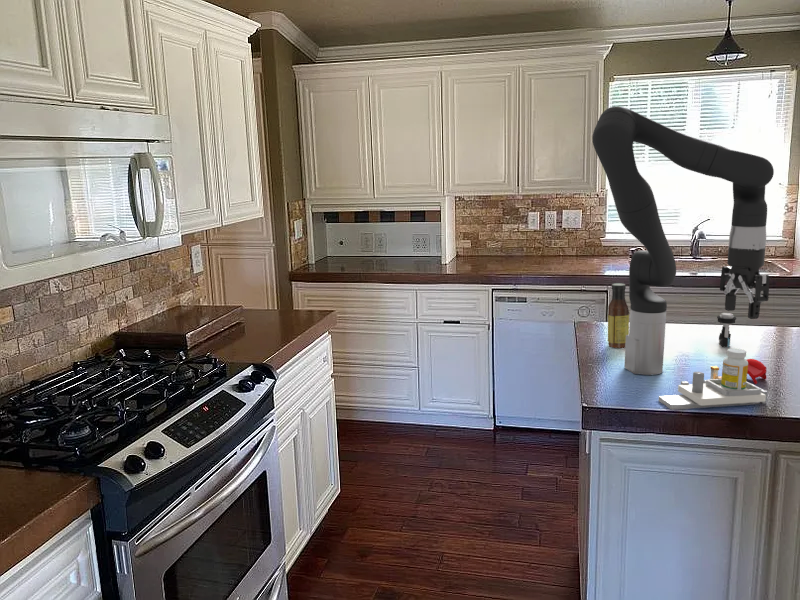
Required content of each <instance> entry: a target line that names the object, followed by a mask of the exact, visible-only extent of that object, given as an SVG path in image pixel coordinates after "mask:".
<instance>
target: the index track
mask: <svg viewBox="0 0 800 600" xmlns="http://www.w3.org/2000/svg"><path fill="white" fill-rule="evenodd" d="M719 371H720V367H719V366H717V365H713V366H712V365H711V366H710V377H709V379H715V376H719ZM759 388H760V389H761V393H763V394H765V395H766V400H765V402H750V403H735V404H719V405H703V406H700V405H699V404H697V403H696V402H694V401H693V400H691V399H689V398H688V397H686V396H685V395H683V394H677V395H676V394H673V395H659V396H658V402H659V403H661V405H664V406H665V407H667V408H668V409H669V410H671V411H675V410H689V409H690V410H691V409H705V408H708V409H709V408H720V407H721V408H722V407H736V406H750V405H751V406H753V405H754V406H755V405H760V404H762V405H766V404H767V403H768V402H767V399H768V391H767V390H766V389H763V388H761V387H759Z"/></svg>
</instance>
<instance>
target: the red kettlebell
mask: <svg viewBox="0 0 800 600" xmlns="http://www.w3.org/2000/svg"><path fill="white" fill-rule="evenodd" d="M746 360H747V361H748V371H747V376H749V377H750V378H751V381H752V382H753V383H754V384H753V385H757V384H758V381H757V378H761V379H763V380H767V375H766V374H767V372H768V371H767V366H766V365H765V364H764V363H763V362H761V360H760V361H759V360H757V359H754V358H747V359H746Z"/></svg>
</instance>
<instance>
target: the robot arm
mask: <svg viewBox="0 0 800 600" xmlns="http://www.w3.org/2000/svg"><path fill="white" fill-rule="evenodd" d="M591 137H592V145H593V148H594V151H595V152H596V155H597V157H598V159H599V162H600V164H601V167H602V168H603V171H604V172H605V175H606V178H607V180H608V185H609V187H610V192H611V195H612V197H613V201H614V206H615V209H616V213H617V215H618V218H619V220H620V223H621V224H622V225H623V227H624V229H626V231H628V233H630V234H631V235H632V236H633V237H634V238H635V239H636V240H638V242H640V243H641V245H642V246H643V247H644V248H645V250H641V249H639V250H637V251H636V252H634V253H633V254H632V256H631V258H630V261H629V262H630V263H629V267H628V268H629V270H628V271H629V273H628V277H629V278H628V280H629V281H628V283H629V286H628V287H629V291H628V292H629V293H628V295H629V296H628V297H629V302H630V303H629V304H630V306H629V307H630V308H629V309H630V311H629V335H626V344H625V348H624V364H623V365H624V367H623V368H624V369H626V370H628V371H629V372H630V373H632V374H634V375H644V376H646V375H647V376H648V375H649V376H651V375H652V376H653V375H660V374H661V373H663V372H664V371H663V370H664V354H665V339H666V324H667V323H666V320H667V308H668V307H667V306H668V305H667V304H668V303H667V300H666V299H664V298H663V297H662V296H660V295H658V294H656V292H654V291H653V290H652V289H651V287H650V286H652V287H668V286H671V285H672V284H673V283H674V282H675V280H676V275H677V264H676V260H675V256H674V254H673V251H672V249H671V247H670V245H669V241H668V239H667V237H666V233H665V231H664V229H663V225H662V222H661V219H660V215H659V210H658V206H657V202H656V198H655V195H654V192H653V189H652V188H651V186H650V184H649V183H648V181H647V179H645V178H644V177H643V175H641V173H640V172H639V170H638V166H637V163H636V159H635V154H634V153H635V152H634V143H637V144H642V145H644V146H647V147H650V148H652V149H654V150H656V151H658V152H659V153H660V154H661V155H663V156H664V157H666V158H667V159H668V160H670V161H671V162H673V163H674V164H675V165H677V166H680V167H681V168H683V169H686V170H688V171H691V172H695V173H697V174H701V175H704V176H708V177H712V178H718V179H722V180H724V181H727V182H730V183H732V198H733V205H732V206H733V207H732V213H731V214H732V216H731V227H730V231H729V235H728V237H729V239H728V250H727V252H728V253H727V262H726V263H727V265H728V266H727V265H726V266H722V267H721V274H720V282H719V283H720V284H719V290H720V291H721V292H722V291H723V294H724V295H725V299H724V309H725V311H727V312H730V311H732V312H733V311H735V310H736V303H737V295H736V294H737V292H738V291H739V290H742V291H743V293H744V294H745V295H746V296H747V298H748V300H749V302H748V310H747V311H748V312H747V318H748V319H751V320H757V319H758V318H759V316H760V312H761V311H760V310H761V303H762V302H768V301H769V297H770V294H769V293H770V275H769V274H760V268H762V267H764V265H765V258H766V257H765V255H766V247H767V246H766V245H767V219H768V204H767V202H766V196H765V195H766V186H767V185H768V184H770V182H771V181H772V179H773V178H774V177H773V176H774V173H775V169H774V167H773V164H772V163H771V161H769V160H768V159H767V158H765V157H762V156H759V155H755V154H751V153H748V152H742V151H738V150H734V149H730V148H728V147H724V146H723V145H720V144H718V143H717V144H716V143H712V142H710V141H706V140H703V139H701V138H700V139H699V138H697V137H693V136H691V135H688V134H684V133H682V132H680V131H677V130H675V129H673V128H670V127H668V126H665V125H663V124H661V123H659V122H657V121H655V120H653V119H650V118H648V117H647V116H644V115H642V114H641V113H639V112H636V111H634V110H632V109H629V108H627V107H623V106H612V107H608V108H606V109H605V110H603V112H602V113H601V114H600V115H599V118H598V120H597V123H596V124H595V127H594V130H593V132H592V136H591ZM726 282H727V283H726ZM762 292H763V293H762Z"/></svg>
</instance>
